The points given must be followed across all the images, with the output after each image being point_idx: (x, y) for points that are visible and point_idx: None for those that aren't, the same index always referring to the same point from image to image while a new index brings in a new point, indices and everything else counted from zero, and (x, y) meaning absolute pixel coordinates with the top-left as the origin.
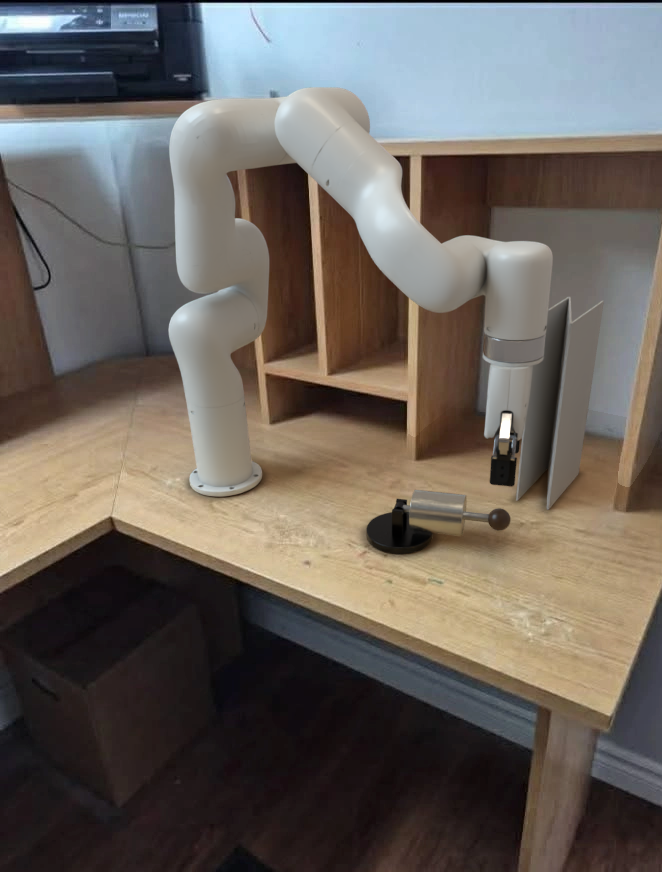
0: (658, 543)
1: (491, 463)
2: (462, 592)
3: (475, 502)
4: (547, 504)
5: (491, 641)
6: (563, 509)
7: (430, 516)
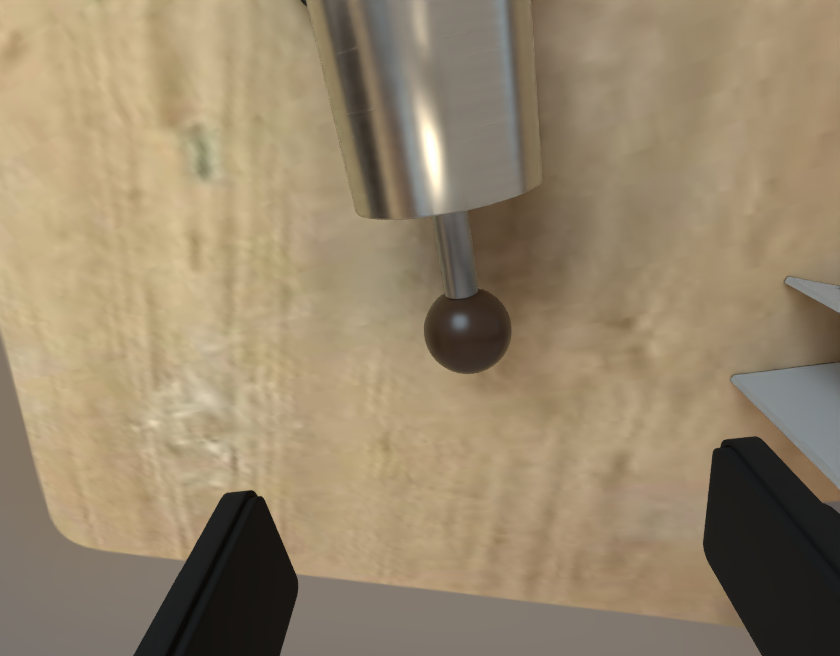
0: (603, 594)
1: (147, 638)
2: (199, 248)
3: (758, 132)
4: (742, 386)
5: (75, 359)
6: (738, 415)
7: (319, 53)
